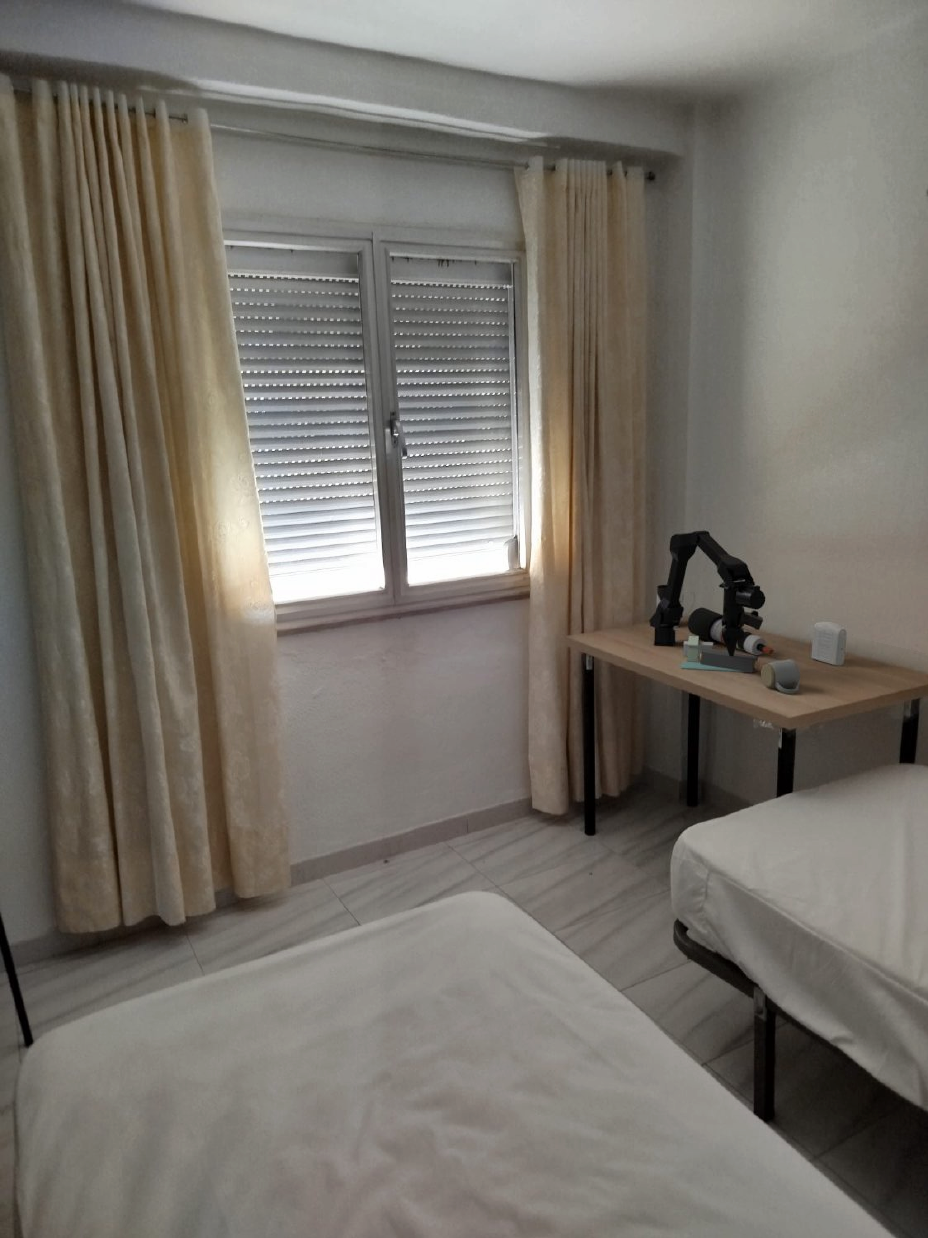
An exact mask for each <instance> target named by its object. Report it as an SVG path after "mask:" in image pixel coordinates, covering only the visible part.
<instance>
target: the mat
mask: <svg viewBox="0 0 928 1238" xmlns="http://www.w3.org/2000/svg"><path fill="white" fill-rule="evenodd" d="M680 669H681V670H695V671H696V670H697V671H698V670H699V671H715V672H730V673H732V672H733V673H746V672H745V671H739V670H732V669H726V668H720V667H714V666H708V665H702V664H701V661H700V662H698V661H697V662H687V661H682V662H681V666H680Z"/></svg>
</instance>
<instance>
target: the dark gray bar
mask: <svg viewBox="0 0 928 1238" xmlns="http://www.w3.org/2000/svg"><path fill="white" fill-rule="evenodd" d="M699 660H700V662H701V664H702V665H708V666H714V667H720V668H726V669H732V670H739V671H745V672H744V673H754V672H756V671H758V669H759V668H760V661H759V657H758V656H757V655H751V654H750V655H749V654H748V655H747V654H742V653H736V652H735V653H734V656H729V653H728V651H722V650H716V649H713V650H710V649H706V650H704V651H702V652H701V654H700V657H699Z"/></svg>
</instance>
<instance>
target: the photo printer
mask: <svg viewBox="0 0 928 1238" xmlns="http://www.w3.org/2000/svg"><path fill="white" fill-rule="evenodd" d="M846 644H847V630H846V628H844V627H843V626H841V625H840V624H837V623H834V622H831V621H820V622H816V623H815V624H814V626H813V633H812V646H811V658H812V659H813V660H816V661H820V662H824V663H827V664H830V665H833V666H837V667H838V666H843V664H845V657H846V656H845V655H846V647H847V645H846Z"/></svg>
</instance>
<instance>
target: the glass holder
mask: <svg viewBox="0 0 928 1238" xmlns="http://www.w3.org/2000/svg"><path fill="white" fill-rule="evenodd" d="M666 587H667V584H661V585H660V584H659V585H657V588H656V589H657V591H656V609H657V606H658V604H659V603H660V601H661V600H662V599H663V598H664V596H665V592H666ZM688 592H689V593H691V594H692V595H693V601H692V605H691V606H690V608H689V609H688V610H687V611H686V612H685V613H683V617H684V616H686V615H687V614H688V613H689V612H691V611H692V608H693V607H694V604H695V602H696V601H695V599H696V596H695V593H694V592H693V591H691V590H686V591H684V592H683V594H682V596H681V600H679V601H680V603H681V602H683V600H684V598H685V597H684V596H685V594H686V593H688ZM656 609H655V610H656ZM679 627H680V625H679V626H674V629H677V628H679Z"/></svg>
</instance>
